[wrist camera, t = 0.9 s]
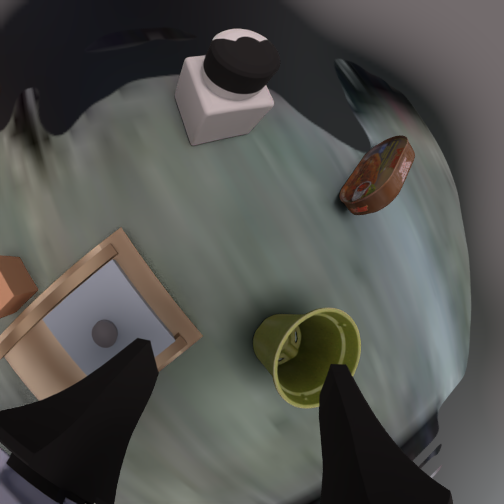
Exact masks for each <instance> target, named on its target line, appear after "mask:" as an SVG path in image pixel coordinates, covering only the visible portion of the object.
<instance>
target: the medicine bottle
mask: <svg viewBox="0 0 504 504" xmlns="http://www.w3.org/2000/svg"><path fill="white" fill-rule="evenodd" d="M279 67H280V57H279V54H278V51H277V50H276V48H275V47H274V45H273V44H272V43H271V42H270V41H269V40H267V39H266V38H265V37H263V36H261V35H259V34H258V33H255V32H252V31H249V30H245V29H231V30H226V31H223V32H221V33H219V34H217V35H216V36H215V37H214V38H213V40H212V42H211V44H210V47H209V49H208V51H207V54H206V55H205V56H196V57H188V58H186V59H185V61H184V64H183V67H182V71H181V74H180V77H179V81H178V85H177V88H176V92H175V99H176V102H177V105H178V108H179V111H180V114H181V117H182V120H183V123H184V126H185V129H186V132H187V135H188V138H189V141H190V144H191V145H198V144H202V143H207V142H211V141H215V140H220V139H224V138H229V137H234V136H239V135H244V134H248V133H249V132H250V131H251V130H252V129H253V128H254V127H255V126H256V124H257V123H258V122H259V121H260V120H261V119H262V118H263V117H264V116H265V114H266V113H267V112H268V111H269V110H270V109H271V108H272V107H273V106H274V101H273V99H272V97H271V95H270V92H269V90H268V88H267V86H266V84H267V83H268V81H269V80H270V79H271V78H272V76H273V75H274V74H275V73H276V72H277V70H278V69H279Z"/></svg>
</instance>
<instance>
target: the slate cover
mask: <svg viewBox="0 0 504 504" xmlns="http://www.w3.org/2000/svg"><path fill="white" fill-rule="evenodd" d="M42 320H43V321H44V322H45V324H46V325H47V327H48V328H49V329H50V331H51V332H52V334H53V335H54V336H55V338H56V339H57V340H58V342H59V343H60V344H61V345H62V347H63V348H64V349H65V351H66V352H67V353H68V354H69V355H70V357H71V358H72V359H73V360H74V362H75V363H76V364H77V365H78V366H79V367H80V369H81V370H82V371H83V372H84V373H85V374H86V375H87V376H88V375H89V374H91V373H92V372H94V371H95V370H97V369H98V368H99V367H101V366H102V365H103V364H105V363H106V362H107V361H109V360H110V359H111V358H112V357H114V356H115V355H116V354H118V353H119V352H120V351H121V350H123V349H124V348H125V347H126V346H128V345H129V344H130V343H132V342H133V341H134V340H135V339H137V338H141V339H145V340H150V341H151V345H152V349H153V353H154V357H156V356H157V355H159V354H160V353H161V352H162V351H164V350H165V349H166V348H167V347H169V346H170V345H171V344H172V343H174V342H175V339H174V336H173V334H172V333H171V331H170V330H169V329H168V328H167V327H166V325H165V324H164V323H163V322H162V321H161V319H160V318H159V317H158V316H157V315H156V313H155V312H154V311H153V310H152V308H151V307H150V306H149V304H148V303H147V302H146V301H145V299H144V298H143V297H142V295H141V294H140V293H139V291H138V290H137V289H136V287H135V286H134V285H133V283H132V282H131V281H130V279H129V278H128V277H127V275H126V274H125V272H124V271H123V270H122V268H121V267H120V265H119V264H118V263H117V261H116V260H113V259H112V260H111V261H110V262H108V263H107V264H106V265H105V266H103V267H102V268H101V269H100V270H98V271H97V272H96V273H95V274H94V275H92V276H91V277H90V278H89V279H88V280H86V281H85V282H84V283H83V284H82V285H80V286H79V287H78V288H77V289H76V290H75V291H73V292H72V293H71V294H70V295H69V296H68V297H67V298H65V299H64V300H63V301H62V302H61V303H60V304H59V305H58V306H56V307H55V308H54V309H53V310H52V311H51V312H50V313H49V314H48V315H47V316H46V317H44V318H43V319H42Z"/></svg>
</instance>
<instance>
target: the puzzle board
mask: <svg viewBox="0 0 504 504" xmlns="http://www.w3.org/2000/svg"><path fill="white" fill-rule="evenodd" d="M112 259H113V260H116V261H117V263H118V264H119V265H120V267H121V268H122V270H123V271H124V272H125V274H126V275H127V277H128V278H129V279H130V281H131V282H132V283H133V285H134V286H135V287H136V289H137V290H138V291H139V293H140V294H141V295H142V297H143V298H144V299H145V301H146V302H147V303H148V304H149V306H150V307H151V308H152V310H153V311H154V312H155V313H156V315H157V316H158V317H159V318H160V319H161V321H162V322H163V323H164V324H165V325H166V327H167V328H168V329H169V330H170V331H171V333H172V334H173V336H174V339H175V342H174V343H172V344H171V345H170V346H169V347H167V348H166V349H165V350H164V351H162V352H161V353H160V354H159V355H157V356H156V357H155V361H156V365H157V368H158V372H159V371H160V370H162V369H163V368H164V367H165V366H167V365H168V364H169V363H170V362H172V361H173V360H174V359H175V358H177V357H178V356H179V355H180V354H182V353H183V352H184V351H185V350H187V349H188V348H189V347H190V346H192V345H193V344H194V343H195V342H196V341H198V340H199V339H200V338H201V337H203V335H202V334H201V333H200V332H199V331H198V329H197V328H196V327H195V326H194V325H193V323H192V322H191V321H190V320H189V319H188V317H187V316H186V315H185V314H184V312H183V311H182V310H181V309H180V307H179V306H178V305H177V304H176V302H175V301H174V300H173V299H172V297H171V296H170V295H169V293H168V292H167V291H166V289H165V288H164V287H163V286H162V284H161V283H160V282H159V280H158V279H157V278H156V276H155V275H154V273H153V272H152V271H151V269H150V268H149V267H148V265H147V264H146V263H145V261H144V260H143V258H142V257H141V255H140V254H139V253H138V251H137V250H136V248H135V247H134V245H133V244H132V243H131V241H130V240H129V238H128V237H127V235H126V234H125V232H124V231H123V229H122V228H120V229H118V230H117V231H116V232H114V233H113V234H112V235H110V236H109V237H108V238H106V239H105V240H104V241H103V242H101V243H100V244H99V245H98V246H96V247H95V248H94V249H93V250H91V251H90V252H89V253H88V254H86V255H85V256H84V257H83V258H82V259H80V260H79V261H78V262H77V263H76V264H74V265H73V266H72V267H71V268H70V269H69V270H67V271H66V272H65V273H64V274H63V275H62V276H61V277H59V278H58V279H57V280H56V281H55V282H54V283H53V284H52V285H50V286H49V287H48V288H47V289H46V290H45V291H44V292H43V293H42V294H41V295H40V296H39V297H38V298H37V299H35V300H34V301H33V302H32V303H31V304H30V305H29V306H28V307H27V308H26V309H25V310H24V311H23V312H22V313H21V314H20V315H19V316H18V317H17V318H16V319H15V320H14V321H13V322H12V323H11V325H10V326H9V327H8V328H7V329H6V330H5V331H4V332H3V333H2V334H1V335H0V359H1V358H3V357H5V358H6V360H7V361H8V362H9V364H10V365H11V367H12V368H13V369H14V371H15V372H16V373H17V375H18V376H19V377H20V378H21V380H22V381H23V382H24V383H25V385H26V386H27V387H28V388H29V389H30V391H31V392H32V393H33V394H34V395H35V396H36V398H37V399H38V400H39V401H40V400H43V399H45V398H47V397H50V396H52V395H54V394H56V393H59V392H61V391H63V390H65V389H66V388H68V387H70V386H72V385H74V384H75V383H77V382H79V381H80V380H82V379H83V378H85V377H86V376H87V375H86V374H85V373H84V372H83V371H82V370H81V369H80V367H79V366H78V365H77V364H76V363H75V362H74V360H73V359H72V358H71V357H70V355H69V354H68V353H67V352H66V351H65V349H64V348H63V347H62V345H61V344H60V343H59V342H58V340H57V339H56V338H55V336H54V335H53V334H52V332H51V331H50V329H49V328H48V327H47V325H46V324H45V322H44V321H43V320H42V319H43V318H44V317H46V316H47V315H48V314H49V313H50V312H51V311H52V310H53V309H54V308H55V307H56V306H58V305H59V304H60V303H61V302H62V301H63V300H64V299H65V298H67V297H68V296H69V295H70V294H71V293H72V292H73V291H75V290H76V289H77V288H78V287H79V286H80V285H82V284H83V283H84V282H85V281H86V280H88V279H89V278H90V277H91V276H92V275H94V274H95V273H96V272H97V271H98V270H100V269H101V268H102V267H103V266H105V265H106V264H107V263H108V262H110V261H111V260H112Z"/></svg>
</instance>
